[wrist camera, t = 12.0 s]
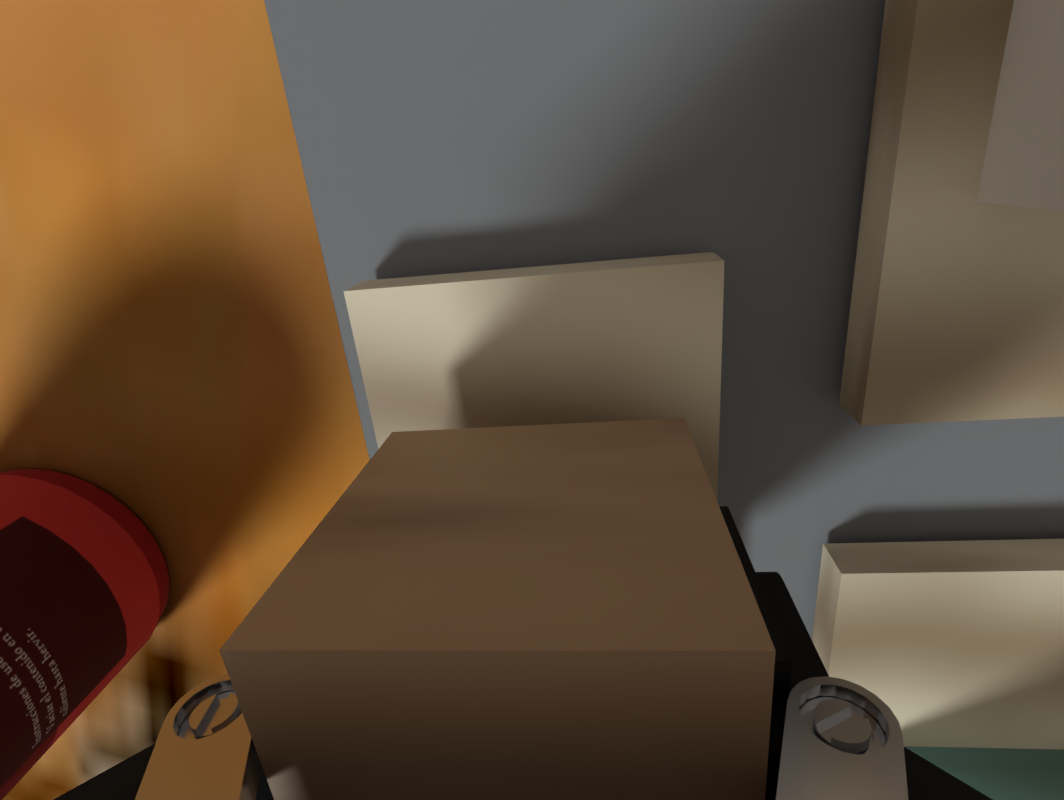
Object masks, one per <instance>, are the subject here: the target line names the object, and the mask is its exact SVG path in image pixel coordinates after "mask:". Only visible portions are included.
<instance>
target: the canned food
mask: <svg viewBox="0 0 1064 800" xmlns="http://www.w3.org/2000/svg"><path fill="white" fill-rule="evenodd" d="M168 595H169V574H168V570H167V567H166V563H165V560H164V557H163V555H162V553H161V551H160V549H159V547H158V545H157V543H156V541H155V539H154V538H153V536H152V535H151V534H150V532H149V531H148V530H147V528H146V527H145V526H144V524H143V523H142V522H141V521H140V520H139V519H138V518H137V517H136V516H135V515H134V514H133V513H132V512H131V511H130V510H129V509H128V508H127V507H126V506H125V505H123V504H122V503H121V502H119V501H118V500H117V499H115V498H114V497H113V496H111V495H110V494H108V493H107V492H105V491H103V490H101V489H99V488H98V487H96V486H94V485H92V484H90V483H88V482H87V481H84V480H81V479H78V478H76V477H73V476H70V475H68V474H65V473H60V472H55V471H50V470H45V469H17V470H11V471H5V472H1V473H0V800H2V799H3V798H4V797H5V796H6V795H7V794H8V793H9V792H10V790H11V789H12V788H13V787H14V786H15V785H16V784H17V783H18V782H19V781H20V780H21V778H22V777H23V776H24V775H25V774H26V773H27V772H28V771H29V770H30V769H31V767H32V766H33V765H34V764H35V763H36V762H37V761H38V760H39V759H40V758H41V757H42V755H43V754H44V753H45V752H46V751H47V750H48V749H49V748H50V747H51V746H52V745H53V743H54V742H55V741H56V740H57V739H58V738H59V737H60V736H61V735H62V734H63V733H64V731H65V730H66V729H67V728H68V727H69V726H70V725H71V724H72V723H73V722H74V721H75V719H76V718H77V717H78V716H79V715H80V714H81V713H82V712H83V711H84V710H85V709H86V707H87V706H88V705H89V704H90V703H91V702H92V701H93V700H94V699H95V698H96V697H97V695H98V694H99V693H100V692H101V691H102V690H103V689H104V688H105V687H106V686H107V684H108V683H109V682H110V681H111V680H112V679H113V678H114V677H115V676H116V675H117V674H118V672H119V671H120V670H121V669H122V668H123V667H124V666H125V665H126V664H127V663H128V662H129V660H130V659H131V658H132V657H133V656H134V655H135V654H136V653H137V652H138V651H139V650H140V648H141V647H142V646H143V645H144V644H145V643H146V642H147V641H148V640H149V638H150V637H151V635H152V633H153V631H154V629H155V627H156V625H157V623H158V621H159V619H160V617H161V615H162V613H163V611H164V609H165V607H166V605H167V600H168Z"/></svg>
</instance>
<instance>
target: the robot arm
mask: <svg viewBox="0 0 1064 800" xmlns="http://www.w3.org/2000/svg"><path fill="white" fill-rule="evenodd" d="M719 507H720V510H721V513H722V515H723V518H724V520H725V523H726V525H727V528H728V530H729V533H730V535H731V538H732V541H733V543H734V546H735V548H736V551H737V553H738V556H739V558H740V561H741V564H742V566H743V569H744V571H745V574H746V576H747V579H748V581H749V584H750V587H751V589H752V592H753V594H754V597H755V599H756V602H757V604H758V607H759V610H760V612H761V615H762V617H763V620H764V622H765V625H766V627H767V630H768V633H769V635H770V638H771V640H772V643H773V645H774V648H775V650H776V653H775V667H774V681H773V695H772V709H771V723H770V737H769V751H768V765H767V779H766V793H765V800H993V799H991V798H989V797H988V796H986V795H984V794H983V793H981V792H979V791H978V790H976V789H974V788H973V787H971V786H969V785H968V784H966V783H964V782H963V781H961V780H959V779H957V778H956V777H954V776H952V775H951V774H949V773H947V772H946V771H944V770H942V769H941V768H939V767H937V766H936V765H934V764H932V763H931V762H929V761H927V760H926V759H924V758H922V757H921V756H919V755H917V754H916V753H914V752H912V751H911V750H909V749H907V748H906V747H904V744H903V734H902V731H901V728H900V724H899V721H898V719H897V718H896V716H895V715H894V714H893V712H892V711H891V709H890V708H889V707H888V706H887V705H886V704H885V703H884V702H883V701H882V700H881V699H880V698H879V697H878V696H876V695H875V694H873V693H872V692H870V691H869V690H867V689H865V688H864V687H862V686H860V685H858V684H855V683H852V682H850V681H847V680H844V679H840V678H834V677H829V675H828V673H827V671H826V669H825V667H824V665H823V663H822V660H821V658H820V656H819V654H818V652H817V650H816V648H815V646H814V644H813V642H812V639H811V637H810V635H809V633H808V631H807V629H806V627H805V625H804V623H803V621H802V619H801V616H800V614H799V612H798V610H797V608H796V606H795V604H794V602H793V600H792V598H791V596H790V593H789V591H788V589H787V587H786V585H785V583H784V581H783V579H782V577H781V576H780V574H779V573H777V572H755V570H754V568H753V565H752V563H751V560H750V558H749V556H748V553H747V551H746V548H745V546H744V544H743V541H742V539H741V536H740V534H739V532H738V529H737V527H736V524H735V522H734V520H733V517H732V515H731V512H730V510H729V508H728V507H727V506H719ZM54 800H274V798H273V795H272V792H271V790H270V787H269V784H268V781H267V779H266V776H265V773H264V770H263V768H262V765H261V762H260V760H259V757H258V754H257V751H256V749H255V746H254V743H253V740H252V738H251V735H250V732H249V729H248V727H247V724H246V721H245V718H244V716H243V713H242V710H241V707H240V705H239V702H238V699H237V697H236V694H235V691H234V688H233V686H232V683H231V680H230V677H229V675H228V674H224V675H220V676H218V677H215V678H212V679H209V680H207V681H205V682H204V683H202V684H200V685H198V686H196V687H195V688H193V689H192V690H191V691H189V692H188V693H187V694H186V695H184V696H183V697H182V698H181V699H180V700H179V701H178V702H177V703H176V704H175V705H174V706H173V708H172V709H171V710H170V711H169V713H168V715H167V717H166V719H165V721H164V723H163V725H162V728H161V731H160V733H159V736H158V739H157V741H156V743H155V744H153V745H152V746H150V747H148V748H146V749H144V750H143V751H141V752H139V753H137V754H135V755H133V756H132V757H130V758H128V759H126V760H124V761H123V762H121V763H119V764H117V765H115V766H114V767H112V768H110V769H108V770H106V771H105V772H103V773H101V774H99V775H97V776H96V777H94V778H92V779H90V780H88V781H86V782H85V783H83V784H81V785H79V786H77V787H76V788H74V789H72V790H70V791H68V792H67V793H65V794H63V795H61V796H59V797H58V798H56V799H54Z"/></svg>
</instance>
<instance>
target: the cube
mask: <svg viewBox="0 0 1064 800" xmlns="http://www.w3.org/2000/svg"><path fill="white" fill-rule="evenodd" d="M220 653H221V655H222V658H223V661H224V664H225V666H226V669H227V672H228V675H229V677H230V680H231V683H232V686H233V688H234V691H235V694H236V697H237V699H238V702H239V705H240V707H241V710H242V713H243V716H244V718H245V721H246V724H247V727H248V729H249V732H250V735H251V738H252V740H253V743H254V746H255V749H256V751H257V754H258V757H259V760H260V762H261V765H262V768H263V770H264V773H265V776H266V779H267V781H268V784H269V787H270V790H271V792H272V795H273V798H274V800H765V793H766V779H767V765H768V751H769V737H770V723H771V709H772V695H773V681H774V667H775V653H776V650H775V648H774V645H773V643H772V640H771V638H770V635H769V633H768V630H767V627H766V625H765V622H764V620H763V617H762V615H761V612H760V610H759V607H758V604H757V602H756V599H755V597H754V594H753V592H752V589H751V587H750V584H749V581H748V579H747V576H746V574H745V571H744V569H743V566H742V564H741V561H740V558H739V556H738V553H737V551H736V548H735V546H734V543H733V541H732V538H731V535H730V533H729V530H728V528H727V525H726V523H725V520H724V518H723V515H722V513H721V510H720V507H719V505H718V502H717V500H716V497H715V495H714V492H713V490H712V487H711V484H710V482H709V479H708V477H707V474H706V472H705V469H704V467H703V464H702V461H701V459H700V456H699V454H698V451H697V449H696V446H695V444H694V441H693V438H692V436H691V433H690V431H689V428H688V426H687V423H686V421H685V418H672V419H651V420H630V421H609V422H588V423H568V424H547V425H526V426H505V427H484V428H463V429H443V430H422V431H401V432H392V433H391V434H390V435H389V437H388V438H387V439H386V440H385V442H384V443H383V444H382V445H381V447H380V448H379V449H378V450H377V452H376V453H375V454H374V456H373V457H372V458H371V459H370V461H369V462H368V463H367V464H366V466H365V467H364V468H363V469H362V471H361V472H360V473H359V475H358V476H357V477H356V478H355V480H354V481H353V482H352V483H351V485H350V486H349V487H348V488H347V490H346V491H345V492H344V493H343V495H342V496H341V497H340V499H339V500H338V501H337V502H336V504H335V505H334V506H333V507H332V509H331V510H330V511H329V512H328V514H327V515H326V516H325V518H324V519H323V520H322V521H321V523H320V524H319V525H318V526H317V528H316V529H315V530H314V531H313V533H312V534H311V535H310V536H309V538H308V539H307V540H306V542H305V543H304V544H303V545H302V547H301V548H300V549H299V550H298V552H297V553H296V554H295V555H294V557H293V558H292V559H291V561H290V562H289V563H288V564H287V566H286V567H285V568H284V569H283V571H282V572H281V573H280V574H279V576H278V577H277V578H276V579H275V581H274V582H273V583H272V585H271V586H270V587H269V588H268V590H267V591H266V592H265V593H264V595H263V596H262V597H261V598H260V600H259V601H258V602H257V604H256V605H255V606H254V607H253V609H252V610H251V611H250V612H249V614H248V615H247V616H246V617H245V619H244V620H243V621H242V622H241V624H240V625H239V626H238V628H237V629H236V630H235V631H234V633H233V634H232V635H231V636H230V638H229V639H228V640H227V641H226V643H225V644H224V645H223V647H222V648H221V649H220Z"/></svg>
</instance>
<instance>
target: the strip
mask: <svg viewBox="0 0 1064 800" xmlns="http://www.w3.org/2000/svg"><path fill="white" fill-rule="evenodd" d="M723 293H724V260H723V259H722V258H720V257H719V256H718V255H716V254H715V253H714V252H704V253H692V254H680V255H668V256H656V257H643V258H631V259H619V260H607V261H595V262H583V263H571V264H559V265H547V266H535V267H522V268H510V269H498V270H486V271H474V272H462V273H450V274H438V275H426V276H413V277H401V278H389V279H377V280H365V281H362V282H360V283H358V284H356V285H354V286H352V287H351V288H349V289H347V290H345V291H344V296H345V300H346V305H347V309H348V314H349V318H350V323H351V328H352V332H353V337H354V341H355V346H356V350H357V355H358V359H359V364H360V368H361V373H362V377H363V382H364V386H365V391H366V395H367V400H368V404H369V409H370V413H371V418H372V422H373V427H374V431H375V436H376V441H377V445H378V449H379V448H380V447H381V445H382V444H383V443H384V442H385V440H386V439H387V438H388V437H389V435H390V434H391V433H392V432H401V431H422V430H443V429H463V428H484V427H505V426H526V425H547V424H568V423H588V422H609V421H630V420H651V419H672V418H685V421H686V423H687V426H688V428H689V431H690V433H691V436H692V438H693V441H694V444H695V446H696V449H697V451H698V454H699V456H700V459H701V461H702V464H703V467H704V469H705V472H706V474H707V477H708V479H709V482H710V484H711V487H712V490H713V492H714V495H715V497H716V500H717V493H718V460H719V427H720V393H721V360H722V327H723Z"/></svg>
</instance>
